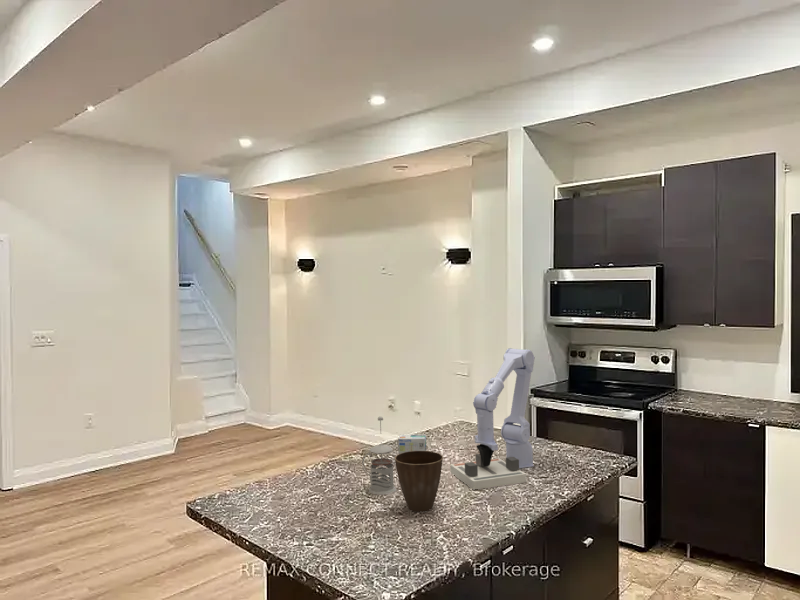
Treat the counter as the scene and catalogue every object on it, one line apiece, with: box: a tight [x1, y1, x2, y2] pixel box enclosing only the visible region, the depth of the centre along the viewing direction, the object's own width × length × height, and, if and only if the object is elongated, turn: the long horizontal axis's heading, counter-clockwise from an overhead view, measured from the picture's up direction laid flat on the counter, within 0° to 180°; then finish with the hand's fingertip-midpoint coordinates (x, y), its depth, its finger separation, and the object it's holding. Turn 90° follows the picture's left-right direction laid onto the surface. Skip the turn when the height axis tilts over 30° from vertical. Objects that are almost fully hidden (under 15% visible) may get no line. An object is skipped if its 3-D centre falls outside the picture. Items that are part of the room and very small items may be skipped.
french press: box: [361, 416, 397, 495], centre depth 202 cm, size 10×12×25 cm
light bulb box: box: [397, 434, 428, 454], centre depth 231 cm, size 11×7×11 cm, turn 84°
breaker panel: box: [449, 457, 527, 491], centre depth 212 cm, size 20×20×7 cm
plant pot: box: [394, 450, 444, 513], centre depth 185 cm, size 15×15×16 cm
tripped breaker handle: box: [475, 453, 486, 467], centre depth 216 cm, size 3×4×4 cm
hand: (486, 465), depth 212 cm, fingers closed
